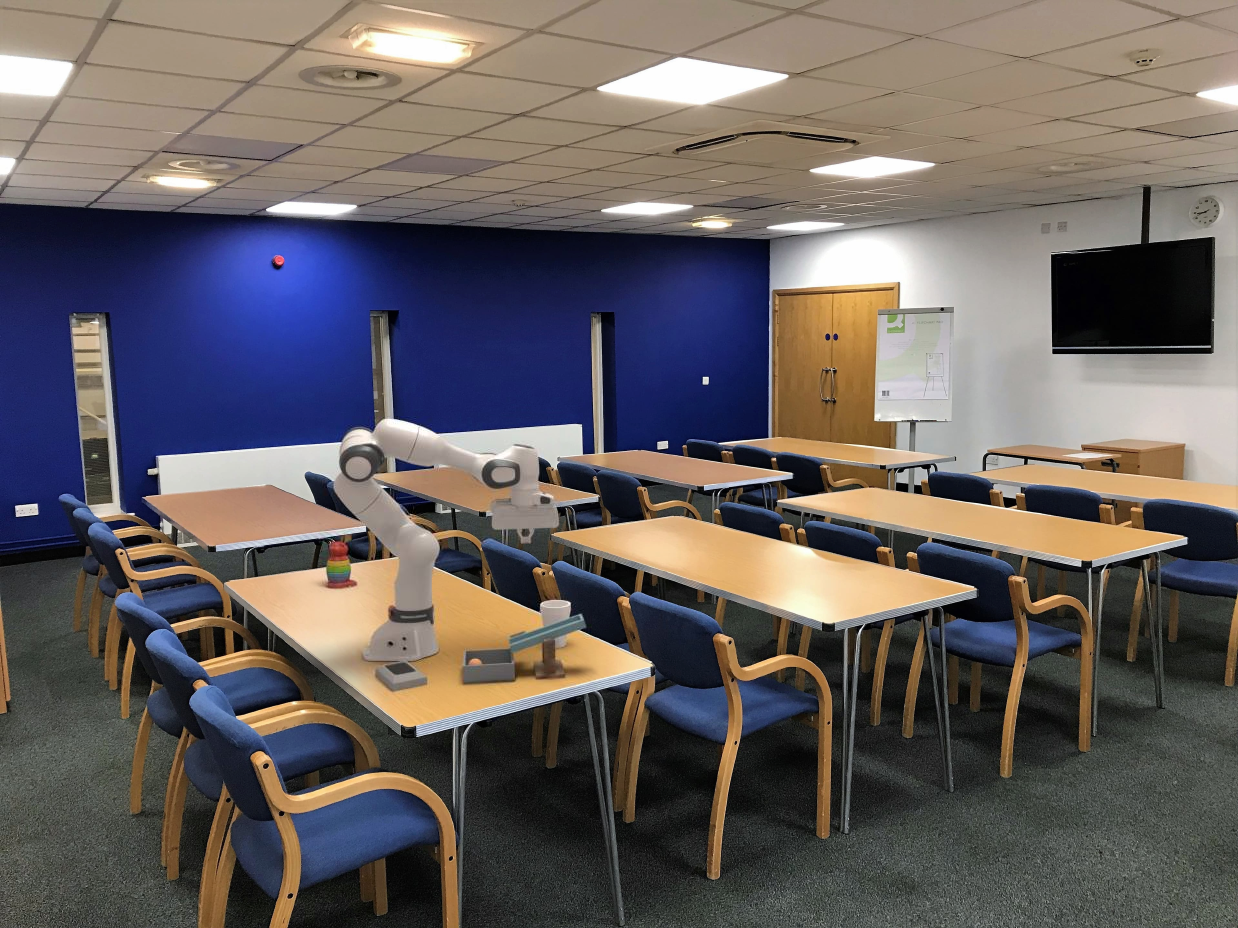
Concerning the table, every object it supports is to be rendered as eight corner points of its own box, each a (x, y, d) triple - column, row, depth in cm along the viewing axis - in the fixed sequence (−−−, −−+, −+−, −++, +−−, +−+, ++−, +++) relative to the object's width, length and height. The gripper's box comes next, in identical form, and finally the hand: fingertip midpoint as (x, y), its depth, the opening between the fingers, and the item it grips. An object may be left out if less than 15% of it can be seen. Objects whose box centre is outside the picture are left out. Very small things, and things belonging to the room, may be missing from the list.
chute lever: (511, 653, 260) (509, 646, 259) (510, 639, 273) (507, 632, 272) (586, 627, 262) (584, 620, 262) (581, 614, 275) (579, 607, 275)
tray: (463, 683, 255) (462, 666, 255) (464, 667, 269) (463, 650, 268) (514, 680, 257) (514, 663, 257) (512, 664, 271) (512, 647, 270)
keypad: (392, 679, 249) (375, 664, 262) (393, 692, 250) (375, 676, 262) (426, 672, 255) (407, 658, 267) (427, 685, 255) (408, 670, 268)
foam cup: (542, 650, 284) (541, 608, 283) (539, 641, 293) (538, 600, 292) (573, 648, 286) (572, 606, 285) (569, 639, 295) (568, 599, 294)
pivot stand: (536, 679, 258) (535, 639, 257) (533, 663, 271) (532, 626, 270) (564, 677, 260) (564, 638, 258) (560, 662, 272) (560, 625, 271)
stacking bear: (359, 584, 368) (357, 540, 366) (339, 590, 360) (337, 545, 358) (340, 581, 374) (338, 538, 372) (320, 586, 365) (318, 542, 363)
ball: (481, 675, 261) (467, 674, 260) (481, 670, 265) (467, 669, 264) (482, 661, 260) (468, 660, 260) (482, 656, 264) (468, 656, 264)
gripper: (490, 500, 275) (491, 546, 277) (559, 498, 278) (559, 543, 280) (490, 497, 282) (491, 542, 283) (557, 495, 285) (558, 539, 286)
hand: (525, 543), depth 282 cm, fingers closed
